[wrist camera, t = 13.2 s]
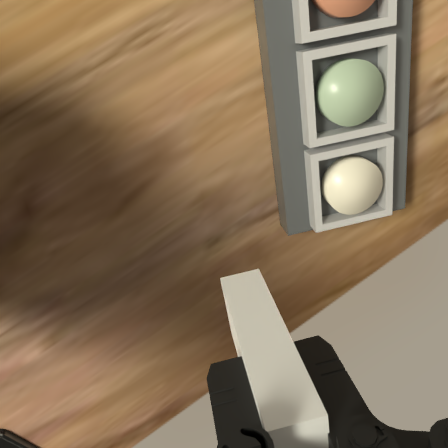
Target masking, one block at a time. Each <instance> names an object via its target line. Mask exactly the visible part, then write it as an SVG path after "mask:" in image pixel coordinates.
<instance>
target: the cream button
mask: <svg viewBox="0 0 448 448" xmlns="http://www.w3.org/2000/svg"><path fill="white" fill-rule="evenodd" d="M382 186H383V178H382V174H381V171H380V170H379V168H378V167H377V166H376V165H375V164H374V163H372V162H370V161H369V160H367V159H365V158H363V157H361V156H358V155H348V156H344V157H341V158H339V159H338V160H336V161H335V162H333V163H332V164H331V165H330V166H329V167H328V169H327V170H326V172H325V173H324V176H323V178H322V183H321V191H322V195H323V197H324V199H325V200H326V201H327V203H329V204H330V205H331V206H332V207H333V208H334V209H335V210H336V211H338V212H339V213H342V214H346V215H353V214H358V213H361V212H363V211H365V210H367V209H368V208H369V207H370V206H372V205H373V204H374V203H375V201H376V200H377V199H378V197H379V195H380V193H381V190H382Z"/></svg>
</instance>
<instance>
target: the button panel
mask: <svg viewBox="0 0 448 448" xmlns="http://www.w3.org/2000/svg"><path fill="white" fill-rule="evenodd" d="M254 4H255V12H256V21H257V29H258V38H259V46H260V55H261V63H262V72H263V80H264V89H265V97H266V106H267V114H268V123H269V131H270V140H271V148H272V157H273V165H274V174H275V182H276V191H277V199H278V208H279V216H280V224H281V226H282V227H283V229H284V230H285V232H286V233H287V234H288V236H289V235H293V234H297V233H301V232H306V231H310V230H314V231H315V232H316V233H317V232H321V231H326V230H330V229H334V228H338V227H343V226H347V225H351V224H355V223H360V222H364V221H368V220H372V219H377V218H381V217H385V216H389V215H392V211H395V210H399V209H403V208H405V195H406V169H407V142H408V115H409V88H410V62H411V35H412V8H413V0H375V1H374V2H373V4H372V5H371V6H370V7H369V8H368V9H366V10H365V11H364V12H362V13H360V14H358V15H356V16H352V17H341V18H334V17H330V16H327V15H325V14H323V13H322V12H321V11H319V10H318V9H317V7H316V6H315V5H314V3H313V1H312V0H254ZM345 58H354V59H361V60H366V61H369V62H370V63H372V64H373V65H375V66H376V67H377V68H378V70H379V71H380V73H381V75H382V78H383V83H384V92H383V97H382V100H381V103H380V105H379V107H378V109H377V110H376V112H375V113H374V114H373V115H372V116H371V117H370V118H369V119H368V120H366V121H365V122H363V123H361V124H359V125H356V126H351V127H346V126H341V125H338V124H336V123H334V122H332V121H330V120H328V119H326V118H325V117H324V116H323V115H322V114H321V113H320V111H319V109H318V107H317V104H316V99H315V92H316V87H317V83H318V80H319V78H320V76H321V75H322V73H323V72H324V71H325V70H326V69H327V68H328V67H329V66H330V65H331V64H332V63H334V62H336V61H338V60H341V59H345ZM348 155H358V156H361V157H363V158H365V159H367V160H369V161H370V162H372V163H374V164H375V165H376V166H377V167H378V168H379V170H380V171H381V174H382V178H383V186H382V190H381V193H380V195H379V197H378V199H377V200H376V201H375V203H374V204H373V205H372V206H370V207H369V208H368V209H367V210H365V211H363V212H361V213H358V214H353V215H346V214H342V213H339V212H338V211H336V210H335V209H334V208H333V207H332V206H331V205H330V204H329V203H327V201H326V200H325V199H324V197H323V195H322V191H321V183H322V178H323V176H324V173H325V172H326V170H327V169H328V167H329V166H330V165H331V164H332V163H333V162H335V161H336V160H338V159H339V158H341V157H344V156H348Z"/></svg>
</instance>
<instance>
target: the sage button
mask: <svg viewBox="0 0 448 448" xmlns="http://www.w3.org/2000/svg"><path fill="white" fill-rule="evenodd" d="M383 92H384V83H383V78H382V75H381V73H380V71H379V70H378V68H377V67H376V66H375V65H373V64H372V63H370V62H369V61H366V60H361V59H354V58H345V59H341V60H338V61H336V62H334V63H332V64H331V65H330V66H329V67H328V68H327V69H326V70H325V71H324V72H323V73H322V75H321V76H320V78H319V80H318V83H317V87H316V92H315V99H316V104H317V107H318V109H319V111H320V113H321V114H322V115H323V116H324V117H325V118H326V119H328V120H330V121H332V122H334V123H336V124H338V125H341V126H346V127H351V126H356V125H359V124H361V123H363V122H365V121H366V120H368V119H369V118H370V117H371V116H372V115H373V114H374V113H375V112H376V110H377V109H378V107H379V105H380V103H381V100H382V97H383Z"/></svg>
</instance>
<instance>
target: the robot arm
mask: <svg viewBox="0 0 448 448" xmlns="http://www.w3.org/2000/svg"><path fill="white" fill-rule="evenodd" d="M220 280H221V285H222V290H223V294H224V299H225V304H226V309H227V314H228V319H229V323H230V328H231V333H232V337H233V340H234V344H235V347H236V351H237V354H238V357H236V358H233V359H229V360H225V361H221V362H217V363H213V364H211V366H210V369H209V372H208V376H207V383H208V388H209V394H210V400H211V405H212V411H213V416H214V423H215V429H216V434H217V440H218V446H217V448H448V418H446V419H442V420H439V421H437V422H436V423H435V424H434V425H433V426H432V427H431V429H430V432H426V431H406V430H399V429H395V428H392V427H389V426H387V425H385V424H384V423H382V422H380V421H379V420H378V419H377V418H376V417H375V416H374V415H373V414H372V413H371V412H370V410H369V409H368V407H367V405H366V404H365V402H364V400H363V398H362V397H361V395H360V393H359V392H358V390H357V388H356V387H355V385H354V383H353V381H352V380H351V378H350V376H349V375H348V373H347V371H345V368H344V366H343V364H342V363H341V361H340V360H339V358H338V356H337V354H336V353H335V351H334V349H333V347H332V346H331V345H330V344H329V343H327V342H326V341H325V340H324V339H322V338H321V337H320V336H314V337H310V338H306V339H303V340H299V341H295V342H293V340H292V338H291V336H290V334H289V332H288V329H287V327H286V325H285V323H284V321H283V319H282V317H281V315H280V313H279V310H278V308H277V306H276V304H275V302H274V300H273V298H272V296H271V293H270V291H269V289H268V287H267V285H266V283H265V281H264V279H263V277H262V274H261V272H260V270H259V269H255V270H251V271H247V272H243V273H239V274H235V275H230V276H226V277H222V278H220Z"/></svg>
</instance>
